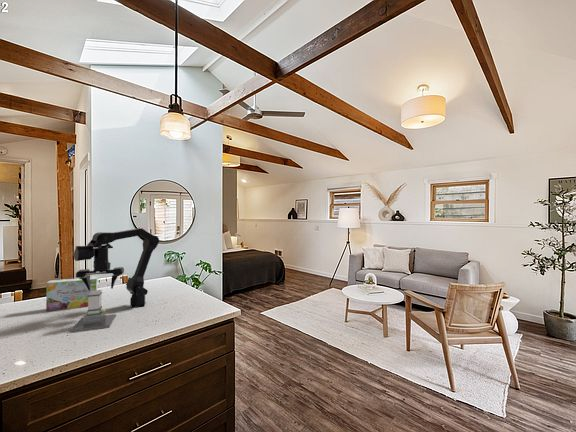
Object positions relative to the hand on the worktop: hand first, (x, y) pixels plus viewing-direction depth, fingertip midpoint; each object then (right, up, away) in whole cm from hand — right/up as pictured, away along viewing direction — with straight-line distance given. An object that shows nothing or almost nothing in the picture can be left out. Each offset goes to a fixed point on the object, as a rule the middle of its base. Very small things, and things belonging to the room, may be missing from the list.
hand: (101, 289), depth 129 cm
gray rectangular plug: (+4, -8, -9) cm, 13 cm away
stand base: (+4, -13, -9) cm, 16 cm away
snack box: (-23, -13, +12) cm, 29 cm away
